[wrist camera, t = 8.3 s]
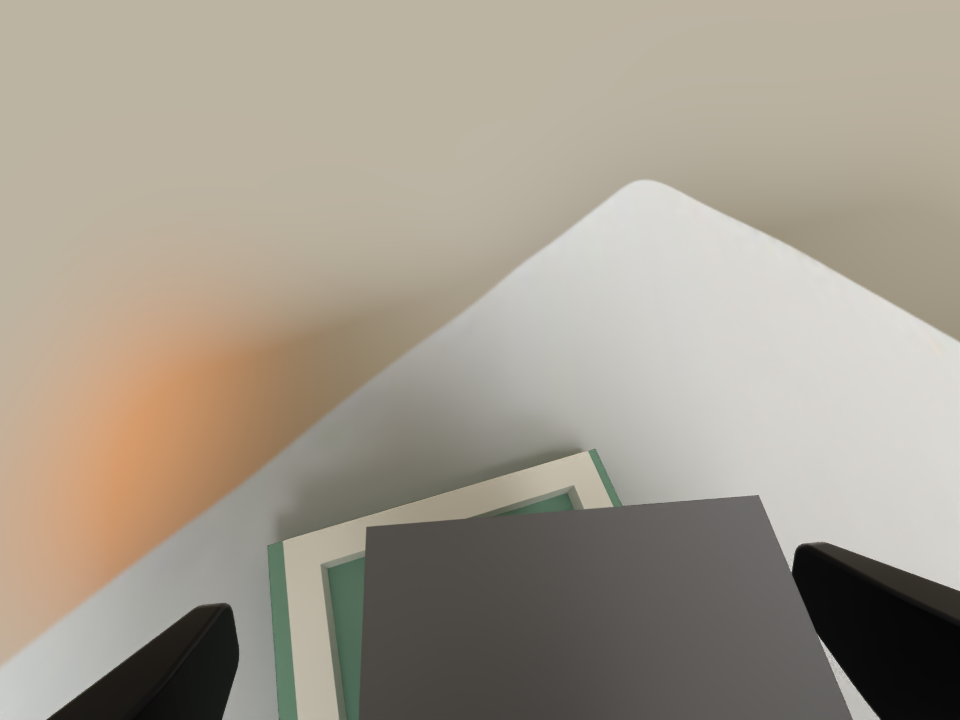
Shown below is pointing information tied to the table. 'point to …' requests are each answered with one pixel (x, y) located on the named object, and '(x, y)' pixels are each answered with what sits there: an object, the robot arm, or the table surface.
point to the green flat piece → (340, 577)
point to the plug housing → (591, 618)
